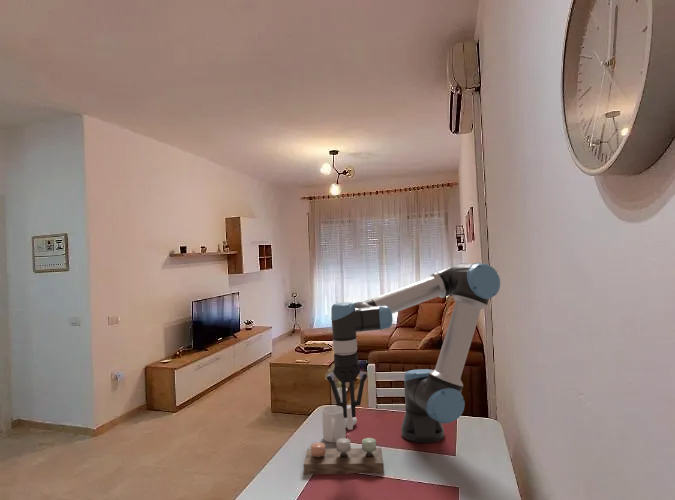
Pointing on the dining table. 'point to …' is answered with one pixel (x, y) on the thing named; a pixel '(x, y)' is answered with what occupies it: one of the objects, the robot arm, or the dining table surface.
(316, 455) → the orange egg
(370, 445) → the sage egg
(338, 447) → the grey egg
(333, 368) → the flower in vase
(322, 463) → the cardboard egg tray
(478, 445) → the dining table surface
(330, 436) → the mug
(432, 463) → the dining table surface
